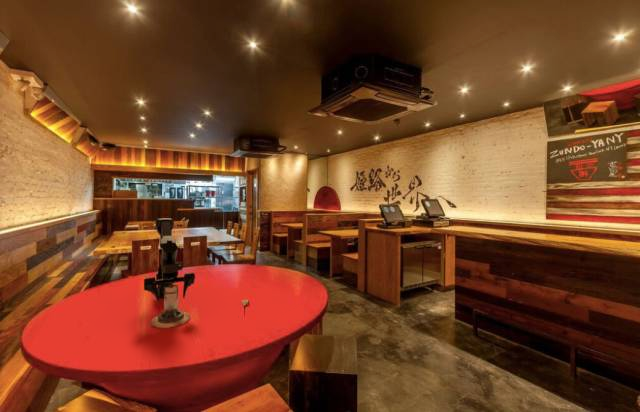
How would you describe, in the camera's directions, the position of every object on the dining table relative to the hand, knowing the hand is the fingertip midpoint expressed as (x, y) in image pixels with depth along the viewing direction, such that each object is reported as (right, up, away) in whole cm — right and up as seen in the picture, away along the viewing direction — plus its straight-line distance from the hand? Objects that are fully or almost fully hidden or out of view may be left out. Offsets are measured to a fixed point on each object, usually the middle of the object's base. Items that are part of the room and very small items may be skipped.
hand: (171, 299), depth 116 cm
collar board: (-1, -9, +1) cm, 9 cm away
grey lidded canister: (-1, -8, +2) cm, 8 cm away
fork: (+25, -9, +15) cm, 31 cm away
